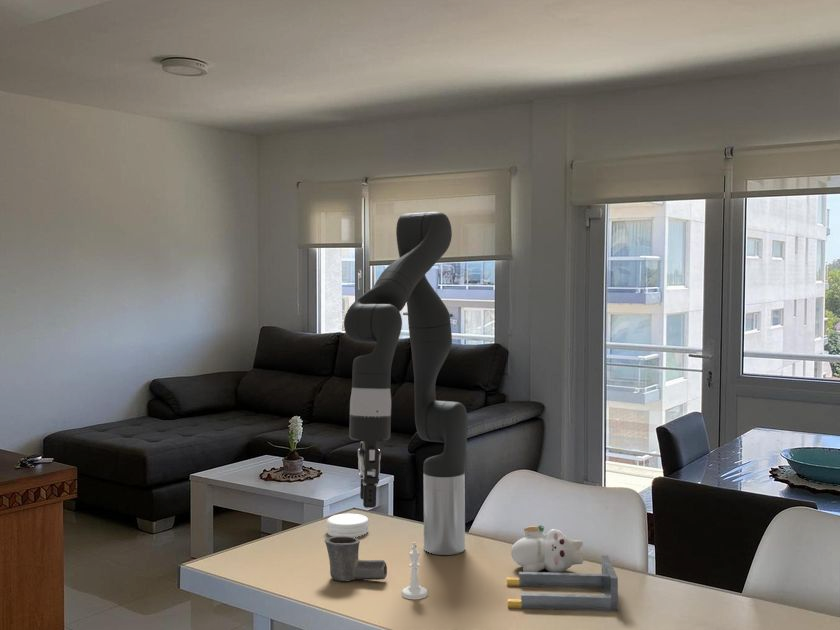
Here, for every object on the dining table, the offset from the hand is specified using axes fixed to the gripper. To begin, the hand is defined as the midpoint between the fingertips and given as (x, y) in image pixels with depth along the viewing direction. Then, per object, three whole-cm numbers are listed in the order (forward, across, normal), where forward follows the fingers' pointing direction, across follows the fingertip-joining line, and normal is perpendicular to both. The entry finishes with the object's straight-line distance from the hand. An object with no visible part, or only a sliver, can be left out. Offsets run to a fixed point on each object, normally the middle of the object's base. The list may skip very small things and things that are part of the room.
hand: (367, 503), depth 143 cm
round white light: (+16, +49, +1) cm, 51 cm away
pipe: (+18, +17, +1) cm, 25 cm away
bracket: (+18, +2, -38) cm, 42 cm away
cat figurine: (+17, +16, -39) cm, 45 cm away
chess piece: (+19, +7, -10) cm, 22 cm away
